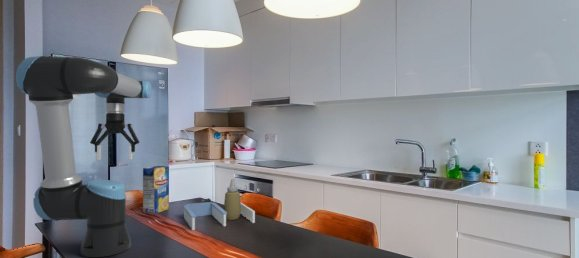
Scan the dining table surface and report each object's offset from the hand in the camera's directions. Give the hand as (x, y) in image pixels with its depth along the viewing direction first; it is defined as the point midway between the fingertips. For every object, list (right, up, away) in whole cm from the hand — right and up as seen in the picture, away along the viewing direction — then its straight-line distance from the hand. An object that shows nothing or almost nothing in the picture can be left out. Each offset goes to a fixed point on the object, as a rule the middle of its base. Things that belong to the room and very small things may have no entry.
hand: (115, 159), depth 156 cm
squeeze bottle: (+53, -28, +2) cm, 60 cm away
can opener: (+35, -28, +16) cm, 47 cm away
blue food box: (+12, -28, +17) cm, 34 cm away
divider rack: (+47, -27, -1) cm, 55 cm away
